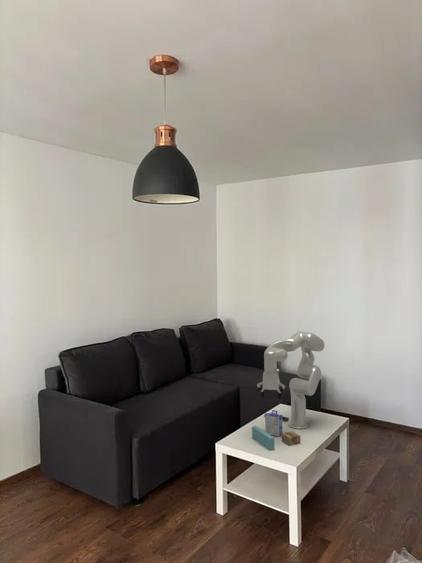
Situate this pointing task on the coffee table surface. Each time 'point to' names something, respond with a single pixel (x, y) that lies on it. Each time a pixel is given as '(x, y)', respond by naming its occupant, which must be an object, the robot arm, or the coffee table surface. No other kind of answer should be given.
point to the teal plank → (263, 437)
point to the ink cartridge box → (273, 424)
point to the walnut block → (290, 438)
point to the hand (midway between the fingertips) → (271, 398)
